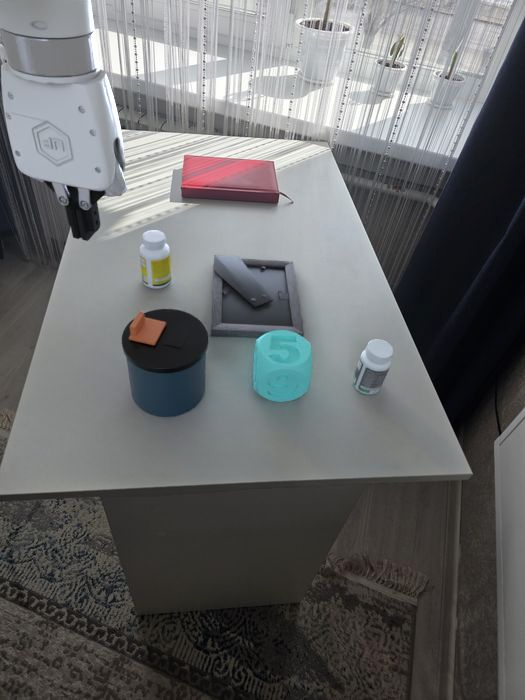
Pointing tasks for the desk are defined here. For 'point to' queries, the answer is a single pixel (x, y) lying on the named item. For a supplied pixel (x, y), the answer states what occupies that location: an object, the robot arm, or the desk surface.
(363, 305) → the desk surface
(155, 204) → the desk surface
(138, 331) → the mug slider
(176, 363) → the travel mug
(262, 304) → the picture frame
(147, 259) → the supplement bottle
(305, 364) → the decorative dice
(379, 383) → the pill bottle
